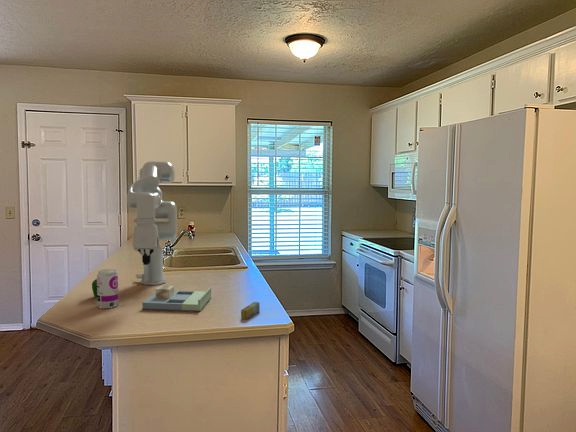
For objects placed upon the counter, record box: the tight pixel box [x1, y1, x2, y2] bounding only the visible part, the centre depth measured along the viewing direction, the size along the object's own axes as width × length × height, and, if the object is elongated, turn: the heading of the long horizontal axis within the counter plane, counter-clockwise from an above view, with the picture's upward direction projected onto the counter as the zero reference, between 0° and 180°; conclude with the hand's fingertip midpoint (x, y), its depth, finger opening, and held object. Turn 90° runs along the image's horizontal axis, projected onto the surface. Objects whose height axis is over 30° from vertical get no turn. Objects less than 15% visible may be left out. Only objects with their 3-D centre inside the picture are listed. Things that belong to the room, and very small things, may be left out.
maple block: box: [155, 285, 175, 299], centre depth 188 cm, size 6×6×4 cm
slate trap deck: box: [142, 287, 212, 313], centre depth 188 cm, size 24×20×5 cm
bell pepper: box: [91, 278, 97, 298], centre depth 196 cm, size 8×8×10 cm
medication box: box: [240, 301, 261, 321], centre depth 175 cm, size 12×3×4 cm, turn 159°
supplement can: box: [96, 268, 119, 309], centre depth 182 cm, size 8×8×15 cm
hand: (146, 264), depth 188 cm, fingers closed
